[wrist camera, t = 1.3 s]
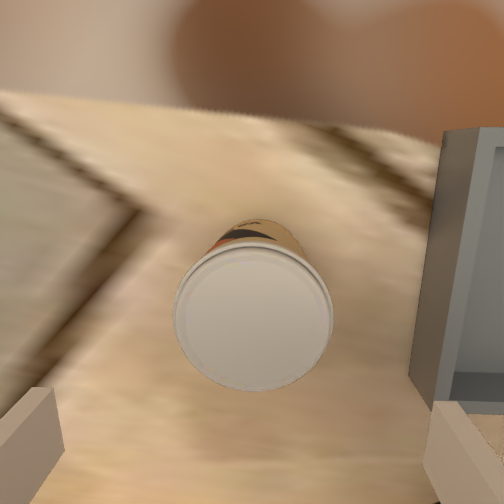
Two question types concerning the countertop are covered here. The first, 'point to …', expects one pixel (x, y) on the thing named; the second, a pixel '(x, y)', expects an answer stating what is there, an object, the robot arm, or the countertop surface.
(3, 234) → the countertop surface
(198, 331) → the coffee cup
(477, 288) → the walled box
